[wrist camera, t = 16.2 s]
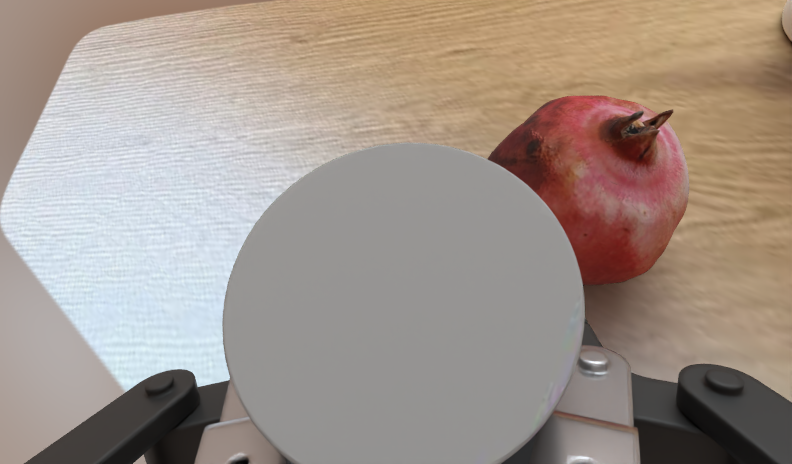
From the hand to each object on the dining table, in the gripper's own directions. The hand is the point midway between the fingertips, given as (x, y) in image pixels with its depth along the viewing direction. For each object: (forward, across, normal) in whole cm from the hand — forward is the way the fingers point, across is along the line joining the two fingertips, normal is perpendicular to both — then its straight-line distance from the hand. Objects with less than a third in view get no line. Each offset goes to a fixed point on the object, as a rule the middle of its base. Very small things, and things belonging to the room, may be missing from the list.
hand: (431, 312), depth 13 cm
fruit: (+13, -7, +2) cm, 15 cm away
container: (+4, 0, +7) cm, 8 cm away
